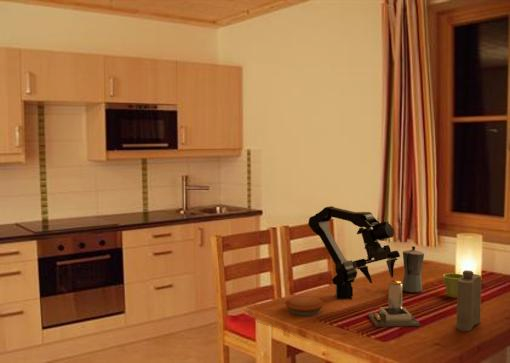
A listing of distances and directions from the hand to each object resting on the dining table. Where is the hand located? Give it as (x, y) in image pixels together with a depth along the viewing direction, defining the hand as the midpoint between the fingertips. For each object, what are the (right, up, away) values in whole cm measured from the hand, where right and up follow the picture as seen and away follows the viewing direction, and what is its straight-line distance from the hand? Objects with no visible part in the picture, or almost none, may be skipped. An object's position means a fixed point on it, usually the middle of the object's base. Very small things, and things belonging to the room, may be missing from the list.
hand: (381, 280), depth 220 cm
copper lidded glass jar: (+2, -11, -15) cm, 19 cm away
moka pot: (+19, -9, +23) cm, 31 cm away
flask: (+26, -13, -21) cm, 36 cm away
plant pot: (+35, -10, +16) cm, 39 cm away
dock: (+1, -12, -16) cm, 20 cm away
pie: (-32, -12, -4) cm, 34 cm away
